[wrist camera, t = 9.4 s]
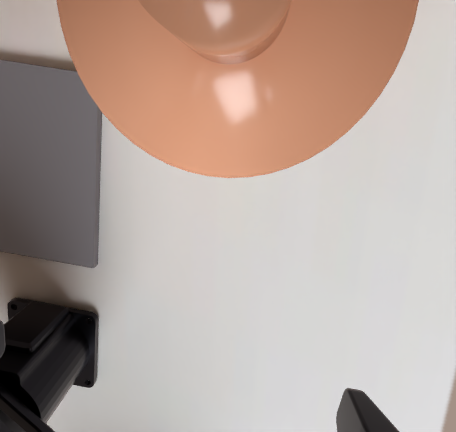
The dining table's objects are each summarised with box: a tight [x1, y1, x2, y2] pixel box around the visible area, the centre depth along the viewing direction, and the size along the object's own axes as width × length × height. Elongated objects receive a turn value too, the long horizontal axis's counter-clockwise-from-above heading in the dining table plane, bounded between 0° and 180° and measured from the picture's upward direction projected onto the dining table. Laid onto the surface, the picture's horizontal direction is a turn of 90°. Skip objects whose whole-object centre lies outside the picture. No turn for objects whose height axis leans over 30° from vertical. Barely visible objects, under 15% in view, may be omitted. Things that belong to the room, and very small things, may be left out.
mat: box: [0, 60, 102, 268], centre depth 21 cm, size 12×12×1 cm
